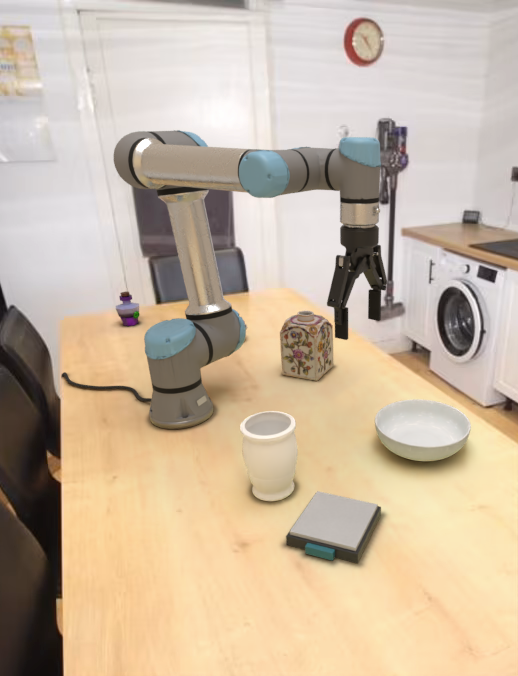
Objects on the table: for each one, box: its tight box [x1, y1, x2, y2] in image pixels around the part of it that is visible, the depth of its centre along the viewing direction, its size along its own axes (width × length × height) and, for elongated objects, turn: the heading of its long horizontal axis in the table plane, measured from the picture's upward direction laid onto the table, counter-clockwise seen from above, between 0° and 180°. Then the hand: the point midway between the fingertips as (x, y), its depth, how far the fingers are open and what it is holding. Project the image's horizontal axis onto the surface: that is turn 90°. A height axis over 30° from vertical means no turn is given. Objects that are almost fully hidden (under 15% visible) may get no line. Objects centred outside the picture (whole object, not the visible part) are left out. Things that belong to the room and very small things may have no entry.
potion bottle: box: [115, 291, 141, 328], centre depth 196 cm, size 9×9×12 cm
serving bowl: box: [374, 398, 472, 462], centre depth 120 cm, size 21×21×7 cm
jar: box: [239, 410, 299, 502], centre depth 104 cm, size 11×10×15 cm
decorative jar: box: [279, 310, 334, 382], centre depth 155 cm, size 12×12×18 cm
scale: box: [285, 490, 382, 564], centre depth 95 cm, size 13×14×3 cm
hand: (358, 328), depth 114 cm, fingers open, 13 cm apart
